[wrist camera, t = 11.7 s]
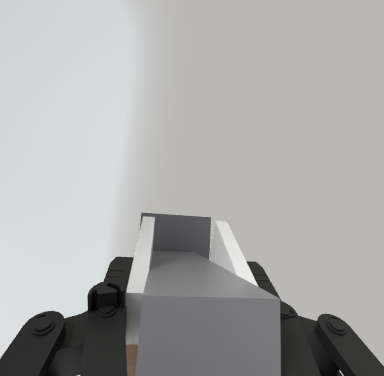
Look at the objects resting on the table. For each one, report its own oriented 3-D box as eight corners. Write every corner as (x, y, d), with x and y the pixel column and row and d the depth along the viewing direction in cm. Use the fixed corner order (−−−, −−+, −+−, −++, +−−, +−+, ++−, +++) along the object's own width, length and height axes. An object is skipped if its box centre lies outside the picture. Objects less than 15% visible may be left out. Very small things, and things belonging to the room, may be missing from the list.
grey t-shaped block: (71, 401, 6) (102, 167, 7) (141, 264, 30) (145, 217, 32) (330, 394, 7) (321, 187, 8) (195, 267, 31) (197, 221, 32)
